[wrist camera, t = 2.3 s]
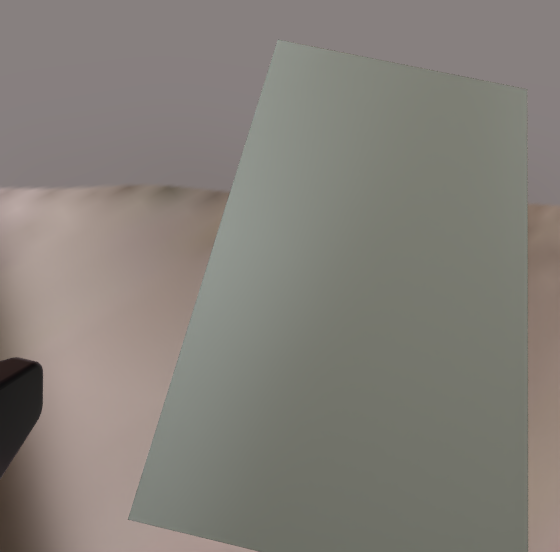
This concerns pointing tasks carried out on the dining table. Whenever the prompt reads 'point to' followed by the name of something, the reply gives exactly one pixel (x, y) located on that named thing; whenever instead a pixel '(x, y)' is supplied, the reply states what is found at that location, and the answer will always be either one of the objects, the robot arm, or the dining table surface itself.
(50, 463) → the dining table surface
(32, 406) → the robot arm
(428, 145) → the carton
